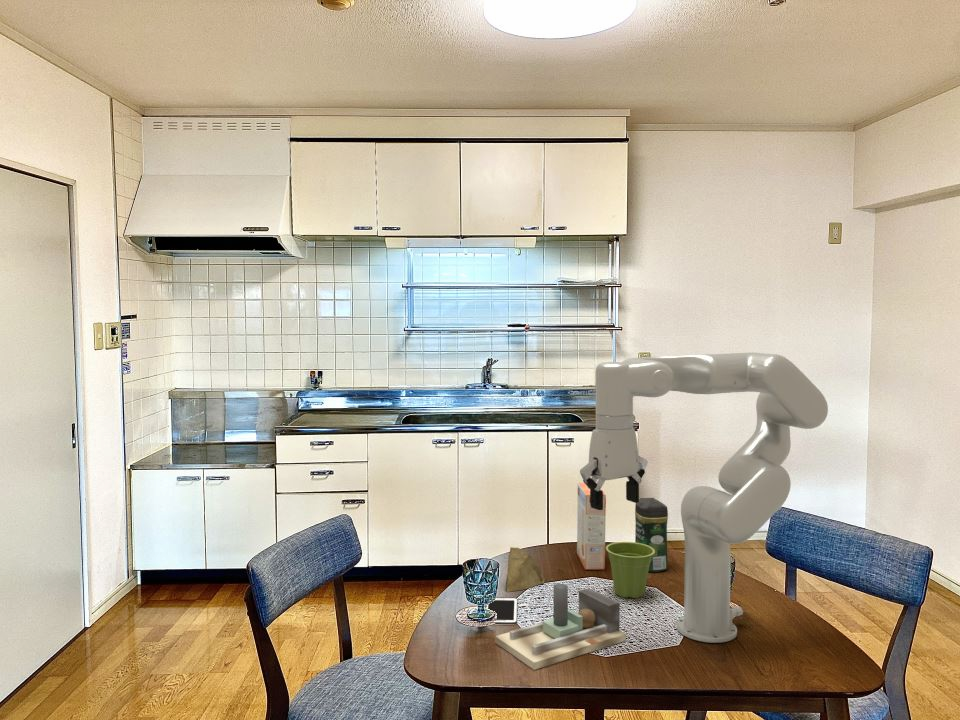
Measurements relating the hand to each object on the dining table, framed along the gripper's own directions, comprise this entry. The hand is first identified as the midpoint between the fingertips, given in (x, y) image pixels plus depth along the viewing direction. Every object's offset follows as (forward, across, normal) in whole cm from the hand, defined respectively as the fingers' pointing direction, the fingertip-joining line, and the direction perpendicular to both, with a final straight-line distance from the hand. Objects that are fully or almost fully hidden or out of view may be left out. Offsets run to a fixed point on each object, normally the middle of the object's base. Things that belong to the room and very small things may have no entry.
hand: (614, 505), depth 152 cm
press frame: (+30, +8, -8) cm, 32 cm away
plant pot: (+31, -22, -20) cm, 43 cm away
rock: (+30, -3, -38) cm, 49 cm away
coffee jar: (+31, -40, -31) cm, 60 cm away
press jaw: (+28, +8, -8) cm, 30 cm away
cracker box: (+31, -29, -43) cm, 60 cm away
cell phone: (+30, +11, -28) cm, 43 cm away
